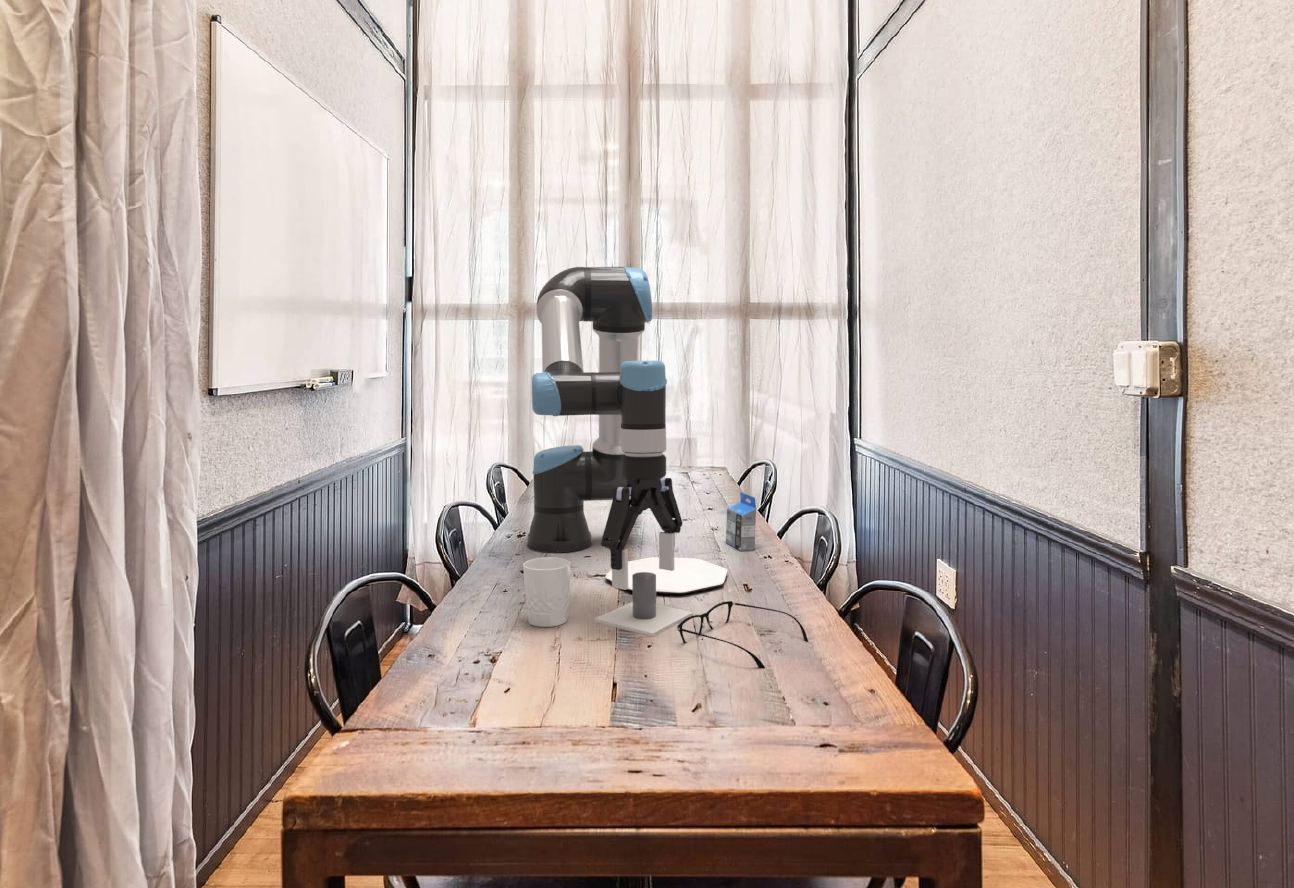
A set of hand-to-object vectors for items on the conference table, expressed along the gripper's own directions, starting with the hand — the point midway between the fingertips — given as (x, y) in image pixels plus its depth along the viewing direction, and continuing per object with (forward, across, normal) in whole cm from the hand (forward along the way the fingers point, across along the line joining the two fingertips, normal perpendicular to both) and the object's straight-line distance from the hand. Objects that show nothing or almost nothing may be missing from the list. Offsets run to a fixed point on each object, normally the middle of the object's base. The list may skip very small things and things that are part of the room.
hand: (644, 578), depth 129 cm
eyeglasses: (+8, 0, +19) cm, 20 cm away
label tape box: (+7, -53, -10) cm, 55 cm away
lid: (+8, 0, 0) cm, 8 cm away
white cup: (+7, +10, -13) cm, 18 cm away
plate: (+7, -22, -10) cm, 26 cm away
